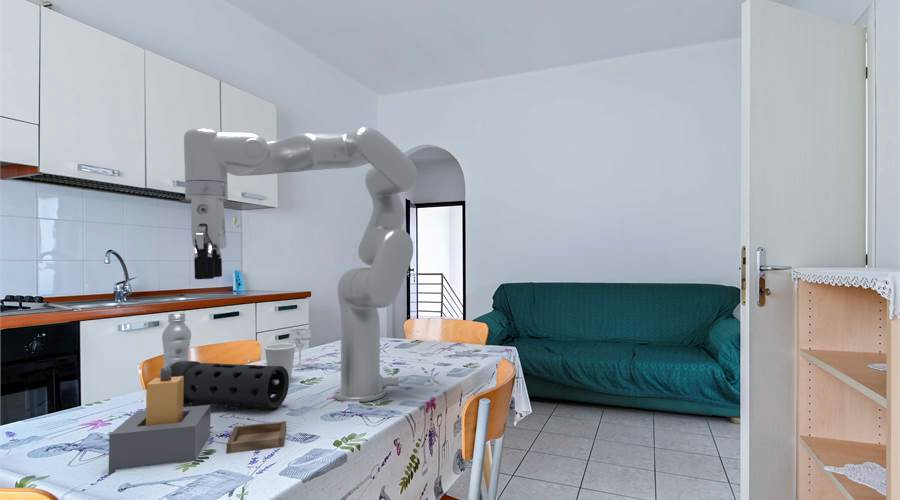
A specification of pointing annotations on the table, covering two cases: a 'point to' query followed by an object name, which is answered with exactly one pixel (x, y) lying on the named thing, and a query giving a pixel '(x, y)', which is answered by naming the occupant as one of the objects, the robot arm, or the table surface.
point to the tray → (256, 437)
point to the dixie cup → (280, 356)
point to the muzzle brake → (232, 384)
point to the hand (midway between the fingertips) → (209, 278)
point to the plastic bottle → (176, 340)
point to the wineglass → (300, 340)
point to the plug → (164, 399)
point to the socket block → (159, 440)
